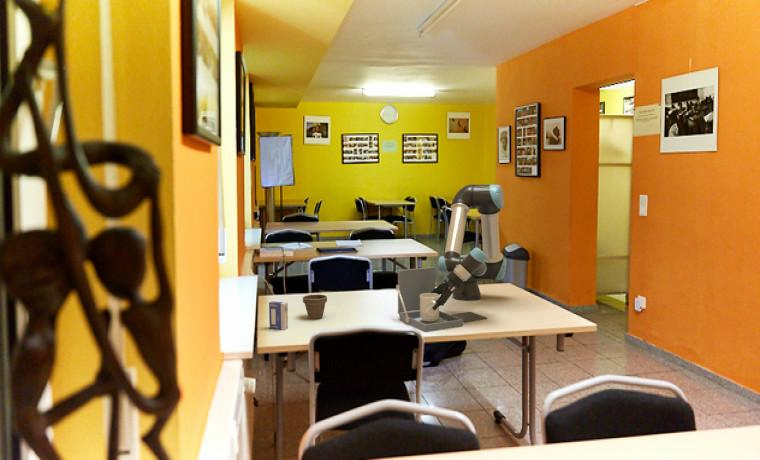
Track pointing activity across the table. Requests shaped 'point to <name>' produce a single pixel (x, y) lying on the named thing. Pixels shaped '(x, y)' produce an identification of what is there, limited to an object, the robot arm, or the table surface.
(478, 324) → the table surface
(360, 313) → the table surface
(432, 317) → the mug
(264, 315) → the table surface
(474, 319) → the rubber mat
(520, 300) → the table surface
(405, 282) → the equipment case
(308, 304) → the flower pot
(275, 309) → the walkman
